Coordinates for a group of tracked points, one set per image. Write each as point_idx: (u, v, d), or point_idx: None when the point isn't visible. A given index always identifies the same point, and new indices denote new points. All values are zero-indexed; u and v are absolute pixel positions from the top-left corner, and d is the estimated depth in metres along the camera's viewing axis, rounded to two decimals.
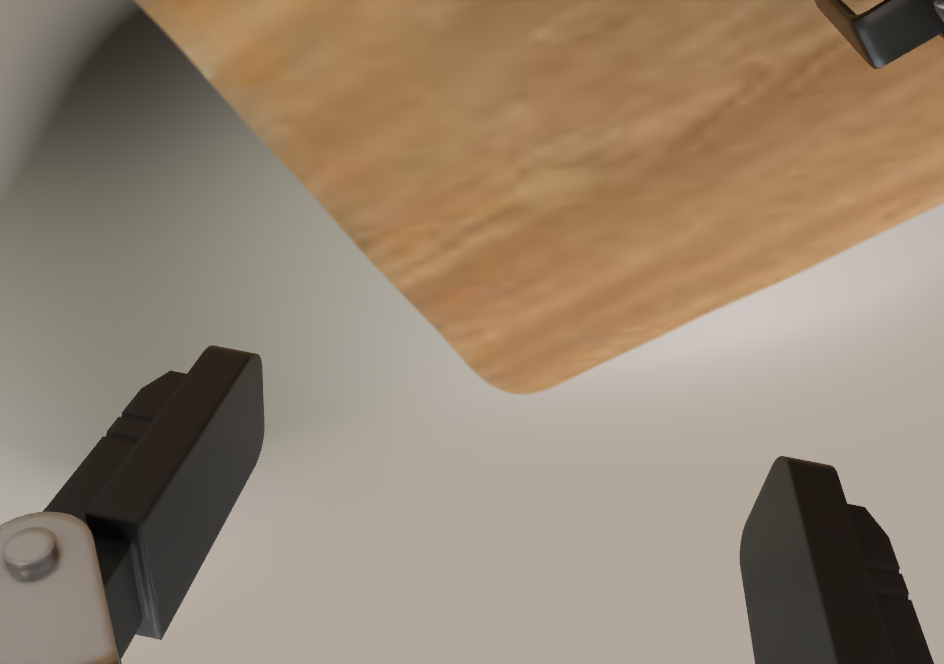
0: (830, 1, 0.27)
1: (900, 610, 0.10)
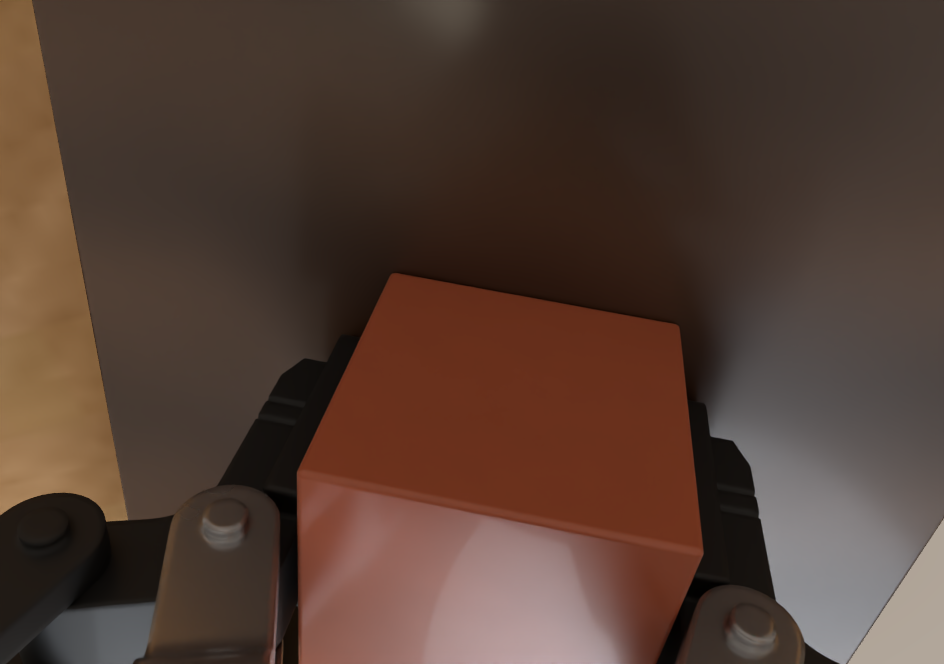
0: None
1: (748, 526, 0.11)
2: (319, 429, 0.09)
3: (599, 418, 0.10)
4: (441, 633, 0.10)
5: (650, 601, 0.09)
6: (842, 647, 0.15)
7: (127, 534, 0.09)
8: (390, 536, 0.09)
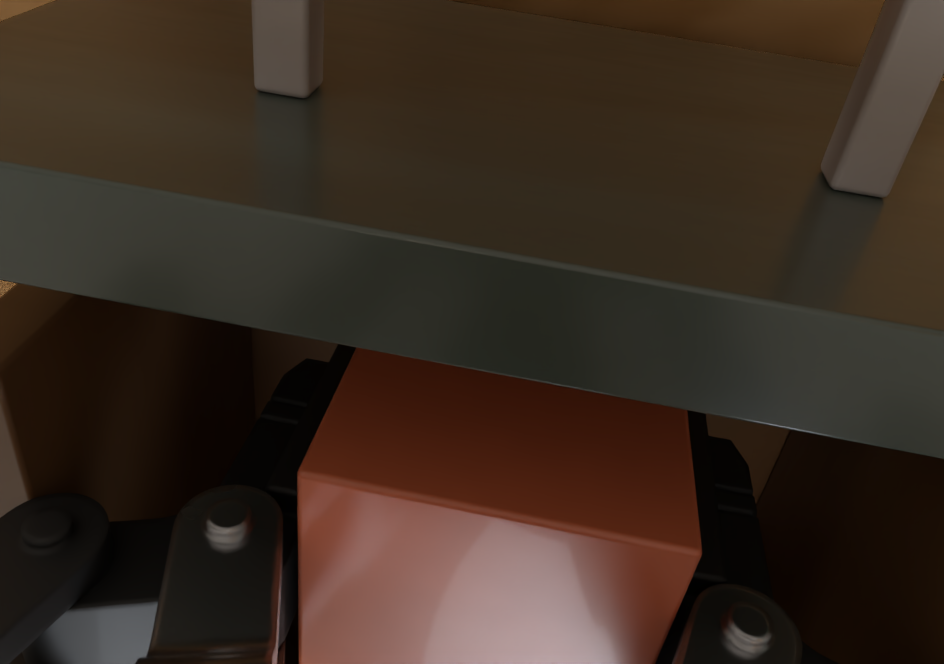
0: None
1: (745, 526, 0.11)
2: (319, 430, 0.09)
3: (599, 418, 0.10)
4: (440, 632, 0.10)
5: (649, 601, 0.09)
6: None
7: (131, 533, 0.10)
8: (390, 536, 0.09)
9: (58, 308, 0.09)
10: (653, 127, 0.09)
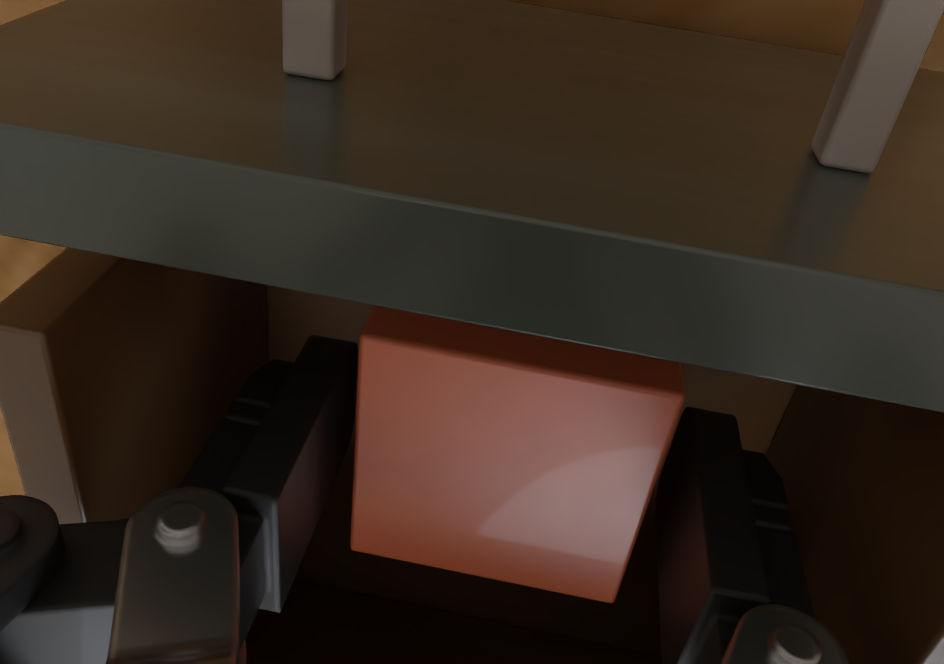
0: None
1: (783, 542, 0.11)
2: (375, 307, 0.11)
3: None
4: (472, 480, 0.12)
5: (643, 442, 0.11)
6: None
7: (84, 536, 0.09)
8: (434, 390, 0.11)
9: (96, 278, 0.10)
10: (655, 109, 0.10)
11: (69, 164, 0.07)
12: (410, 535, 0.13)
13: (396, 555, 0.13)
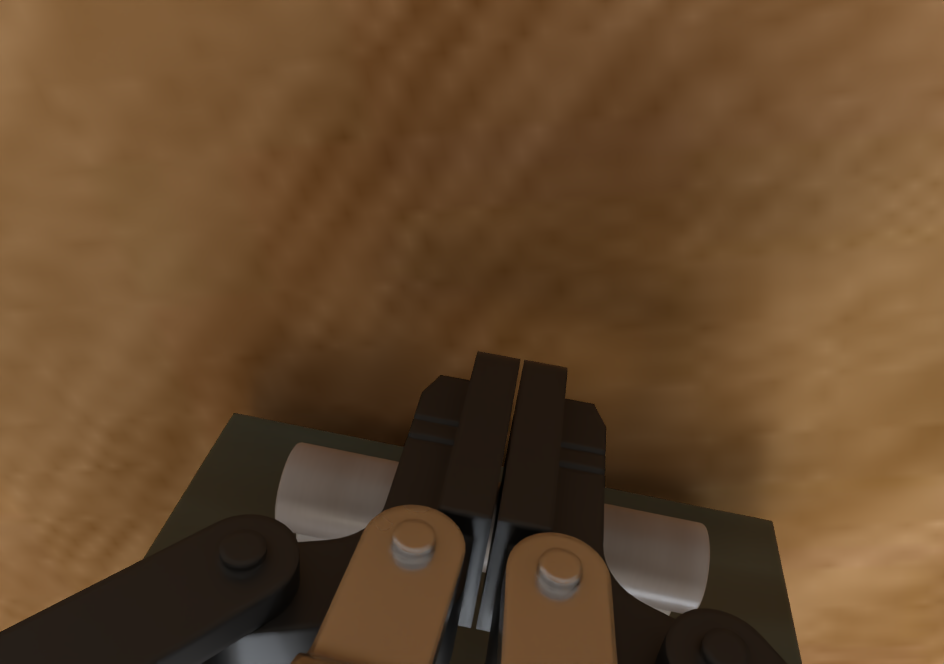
0: None
1: (590, 483, 0.11)
2: None
3: None
4: None
5: None
6: None
7: (309, 555, 0.10)
8: None
9: None
10: None
11: None
12: None
13: None
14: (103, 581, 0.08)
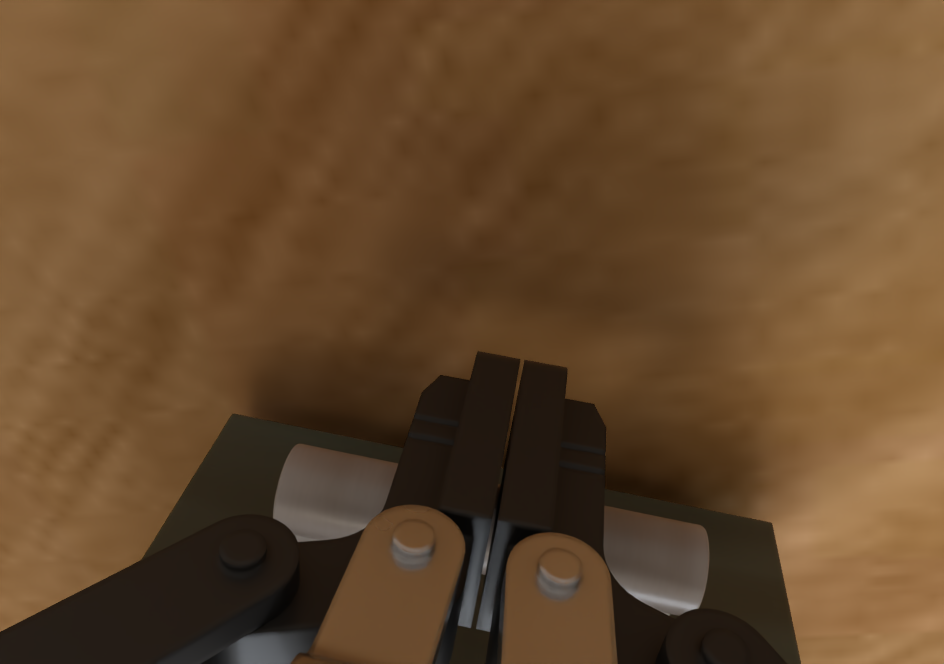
0: None
1: (590, 483, 0.11)
2: None
3: None
4: None
5: None
6: None
7: (309, 555, 0.10)
8: None
9: None
10: None
11: None
12: None
13: None
14: (103, 581, 0.08)
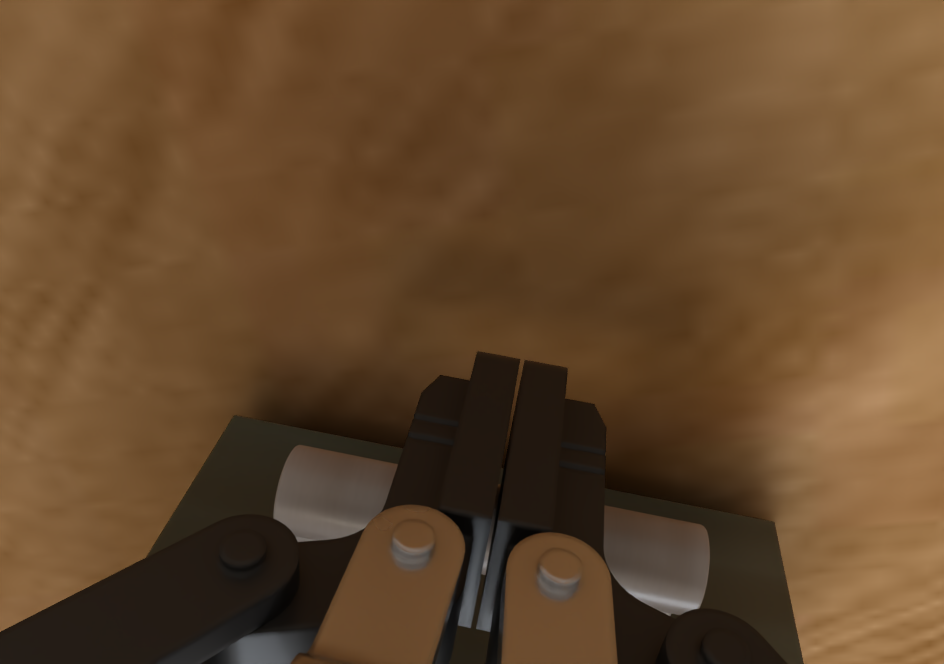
0: None
1: (590, 482, 0.11)
2: None
3: None
4: None
5: None
6: None
7: (309, 555, 0.10)
8: None
9: None
10: None
11: None
12: None
13: None
14: (102, 581, 0.08)
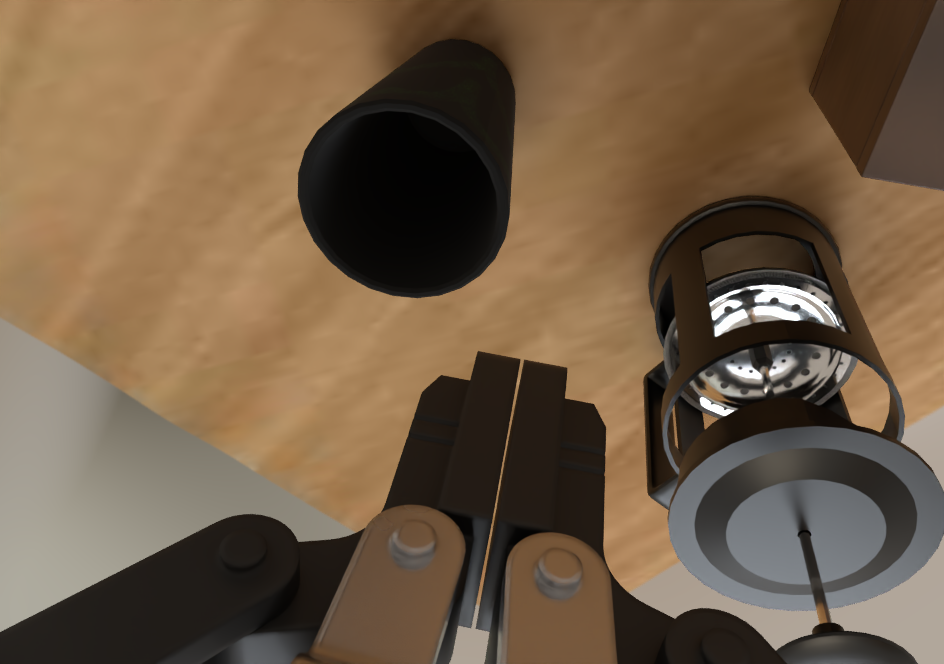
0: (646, 449, 0.37)
1: (590, 483, 0.11)
2: None
3: None
4: None
5: None
6: None
7: (310, 555, 0.10)
8: None
9: None
10: None
11: None
12: None
13: None
14: (103, 581, 0.08)
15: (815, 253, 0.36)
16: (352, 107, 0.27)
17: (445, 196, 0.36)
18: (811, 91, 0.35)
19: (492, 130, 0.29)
